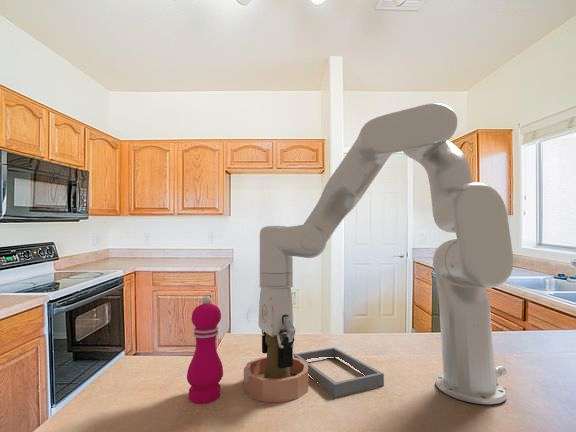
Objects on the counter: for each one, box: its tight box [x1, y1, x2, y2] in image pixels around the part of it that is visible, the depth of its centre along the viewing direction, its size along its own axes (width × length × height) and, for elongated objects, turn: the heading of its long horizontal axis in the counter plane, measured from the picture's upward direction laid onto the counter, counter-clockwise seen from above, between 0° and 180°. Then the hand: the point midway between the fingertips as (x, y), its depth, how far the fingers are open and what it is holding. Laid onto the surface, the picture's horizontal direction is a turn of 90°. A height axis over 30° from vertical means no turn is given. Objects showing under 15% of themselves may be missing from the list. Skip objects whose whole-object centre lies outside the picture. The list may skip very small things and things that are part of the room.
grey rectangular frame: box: [293, 346, 385, 398], centre depth 72 cm, size 13×20×2 cm, turn 24°
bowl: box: [243, 356, 309, 403], centre depth 66 cm, size 14×14×4 cm
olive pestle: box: [264, 331, 290, 379], centre depth 66 cm, size 6×6×11 cm
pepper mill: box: [186, 295, 224, 405], centre depth 62 cm, size 7×7×20 cm
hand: (276, 359), depth 66 cm, fingers open, 9 cm apart
